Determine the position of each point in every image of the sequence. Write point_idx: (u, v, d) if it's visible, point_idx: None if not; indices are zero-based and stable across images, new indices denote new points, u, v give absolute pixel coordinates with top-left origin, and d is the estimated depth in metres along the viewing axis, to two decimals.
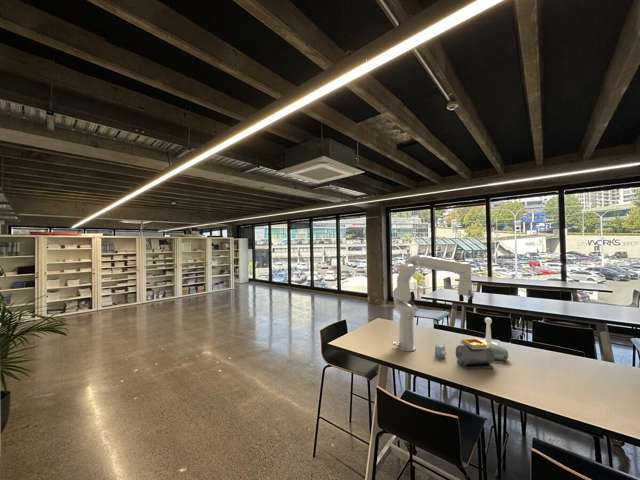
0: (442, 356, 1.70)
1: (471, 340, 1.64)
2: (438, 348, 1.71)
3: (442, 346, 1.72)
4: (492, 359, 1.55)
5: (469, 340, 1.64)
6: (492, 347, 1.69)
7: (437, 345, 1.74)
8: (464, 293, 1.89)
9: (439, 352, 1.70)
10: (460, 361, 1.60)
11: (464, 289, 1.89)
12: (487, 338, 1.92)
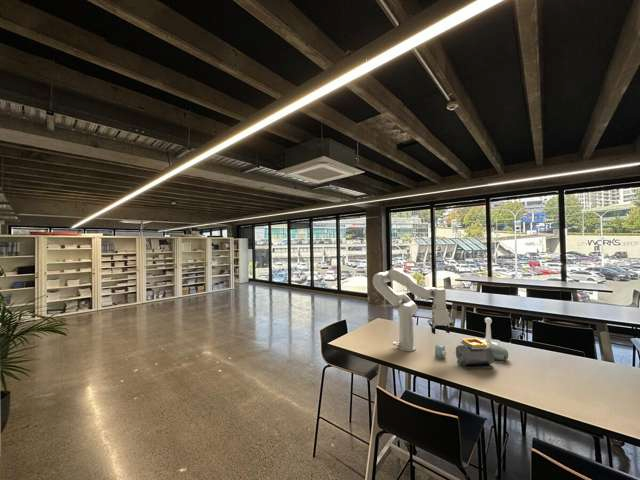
0: (442, 356, 1.70)
1: (471, 340, 1.64)
2: (438, 348, 1.71)
3: (442, 346, 1.72)
4: (492, 359, 1.55)
5: (469, 340, 1.64)
6: (492, 347, 1.69)
7: (437, 345, 1.74)
8: (446, 322, 1.71)
9: (439, 352, 1.70)
10: (460, 361, 1.60)
11: (446, 318, 1.71)
12: (487, 338, 1.92)
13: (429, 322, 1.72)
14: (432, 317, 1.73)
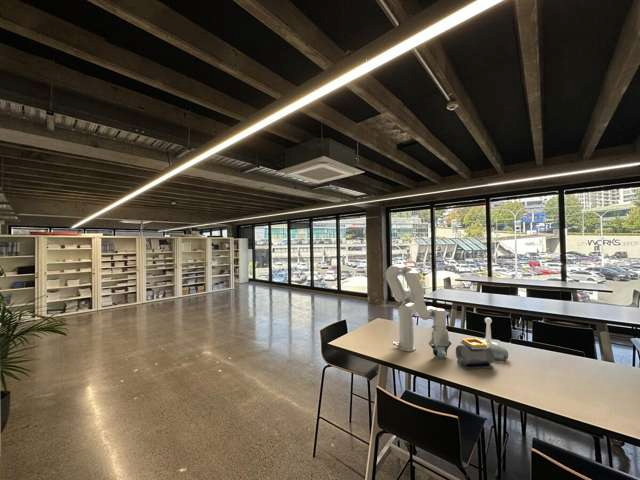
0: (442, 356, 1.70)
1: (471, 340, 1.64)
2: (438, 348, 1.71)
3: (442, 346, 1.72)
4: (492, 359, 1.55)
5: (469, 340, 1.64)
6: (492, 347, 1.69)
7: None
8: (446, 343, 1.70)
9: (439, 352, 1.70)
10: (460, 361, 1.60)
11: (446, 339, 1.71)
12: (487, 338, 1.92)
13: (430, 344, 1.72)
14: (432, 338, 1.73)
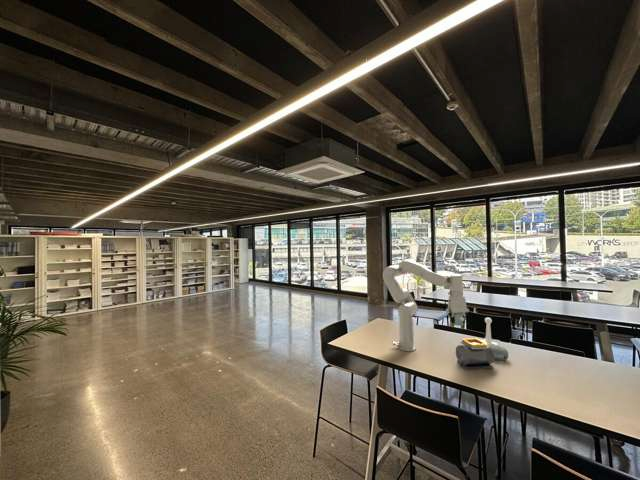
0: (460, 323, 1.63)
1: (471, 340, 1.64)
2: (455, 314, 1.64)
3: (459, 313, 1.66)
4: (492, 359, 1.55)
5: (469, 340, 1.64)
6: (492, 347, 1.69)
7: None
8: (464, 310, 1.64)
9: (457, 319, 1.64)
10: (460, 361, 1.60)
11: (463, 305, 1.64)
12: (487, 338, 1.92)
13: (447, 311, 1.65)
14: (449, 305, 1.67)
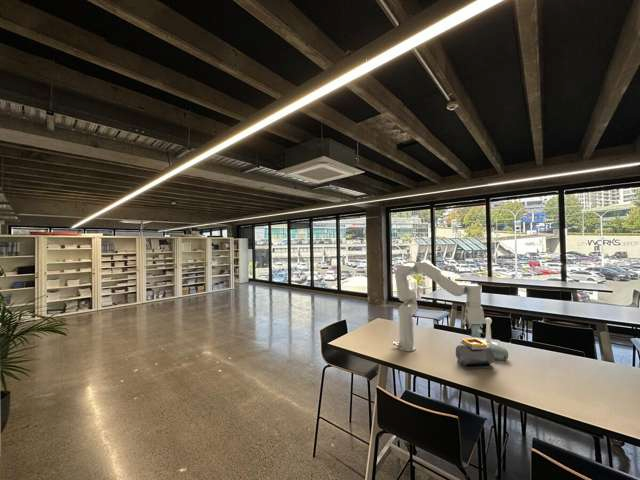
0: (477, 335, 1.57)
1: (471, 340, 1.64)
2: (472, 326, 1.58)
3: (477, 324, 1.60)
4: (492, 359, 1.55)
5: (469, 340, 1.64)
6: (492, 347, 1.69)
7: None
8: (481, 321, 1.58)
9: (474, 330, 1.58)
10: (460, 361, 1.60)
11: (481, 316, 1.58)
12: (487, 338, 1.92)
13: (464, 323, 1.59)
14: (465, 316, 1.61)
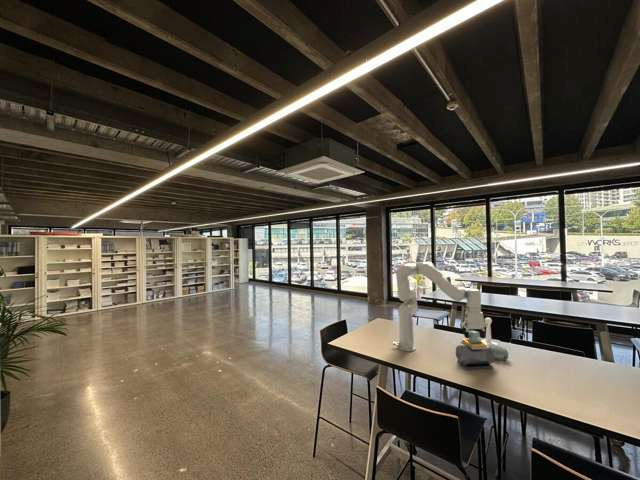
0: (477, 343, 1.57)
1: None
2: (472, 334, 1.58)
3: (476, 332, 1.60)
4: (492, 359, 1.55)
5: None
6: (492, 347, 1.69)
7: (471, 331, 1.61)
8: (481, 326, 1.58)
9: (474, 339, 1.58)
10: (460, 361, 1.60)
11: (481, 321, 1.58)
12: (487, 338, 1.92)
13: (462, 326, 1.59)
14: (465, 320, 1.61)
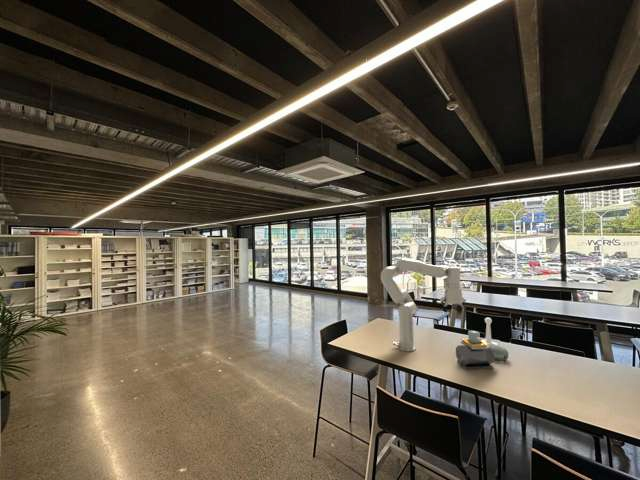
0: (477, 343, 1.57)
1: None
2: (472, 334, 1.58)
3: (476, 332, 1.60)
4: (492, 359, 1.55)
5: None
6: (492, 347, 1.69)
7: (471, 331, 1.61)
8: (459, 301, 1.68)
9: (473, 339, 1.58)
10: (460, 361, 1.60)
11: (459, 297, 1.68)
12: (487, 338, 1.92)
13: (441, 300, 1.69)
14: (445, 296, 1.71)
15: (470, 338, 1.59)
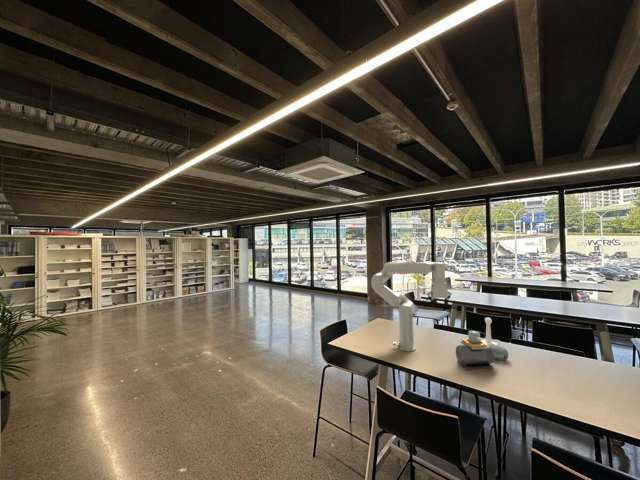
0: (477, 343, 1.57)
1: None
2: (472, 334, 1.58)
3: (477, 332, 1.59)
4: (492, 359, 1.55)
5: None
6: (492, 347, 1.69)
7: (471, 331, 1.61)
8: (445, 295, 1.75)
9: (473, 339, 1.58)
10: (460, 361, 1.60)
11: (445, 291, 1.75)
12: (487, 338, 1.92)
13: (428, 295, 1.76)
14: (431, 290, 1.78)
15: (470, 338, 1.59)
